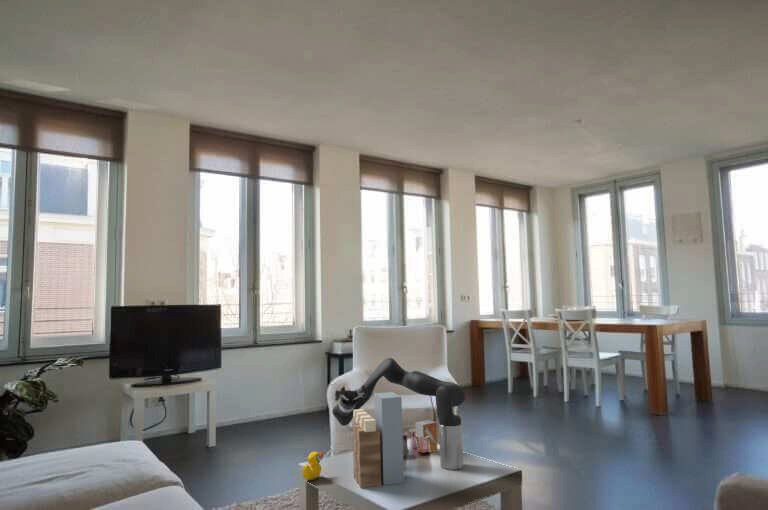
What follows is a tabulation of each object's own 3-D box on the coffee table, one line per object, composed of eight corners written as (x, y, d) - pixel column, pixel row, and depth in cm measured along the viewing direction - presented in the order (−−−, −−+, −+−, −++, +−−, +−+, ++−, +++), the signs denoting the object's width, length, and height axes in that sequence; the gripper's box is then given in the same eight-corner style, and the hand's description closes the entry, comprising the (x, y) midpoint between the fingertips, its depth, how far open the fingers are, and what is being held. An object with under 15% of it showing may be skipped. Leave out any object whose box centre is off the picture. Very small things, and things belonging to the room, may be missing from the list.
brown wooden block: (353, 477, 198) (352, 424, 200) (373, 475, 200) (372, 422, 202) (360, 488, 186) (359, 431, 188) (381, 485, 188) (379, 429, 190)
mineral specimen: (390, 451, 230) (393, 433, 230) (408, 456, 227) (411, 438, 227) (385, 455, 223) (388, 437, 223) (403, 460, 220) (407, 442, 220)
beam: (353, 419, 208) (353, 409, 208) (362, 418, 209) (362, 409, 209) (365, 432, 187) (365, 421, 187) (375, 431, 188) (375, 420, 188)
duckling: (316, 473, 204) (316, 447, 205) (327, 475, 201) (327, 449, 202) (298, 482, 194) (298, 455, 195) (309, 484, 192) (309, 457, 193)
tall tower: (375, 474, 200) (373, 393, 203) (394, 472, 202) (392, 391, 205) (383, 485, 188) (381, 398, 192) (403, 482, 191) (401, 396, 194)
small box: (424, 454, 226) (423, 424, 227) (415, 451, 231) (414, 422, 232) (437, 451, 230) (436, 421, 232) (429, 447, 236) (428, 419, 237)
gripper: (331, 395, 229) (336, 380, 217) (361, 392, 233) (368, 378, 221) (333, 411, 225) (338, 397, 212) (364, 408, 229) (371, 394, 216)
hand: (353, 387), depth 216 cm, fingers open, 8 cm apart
